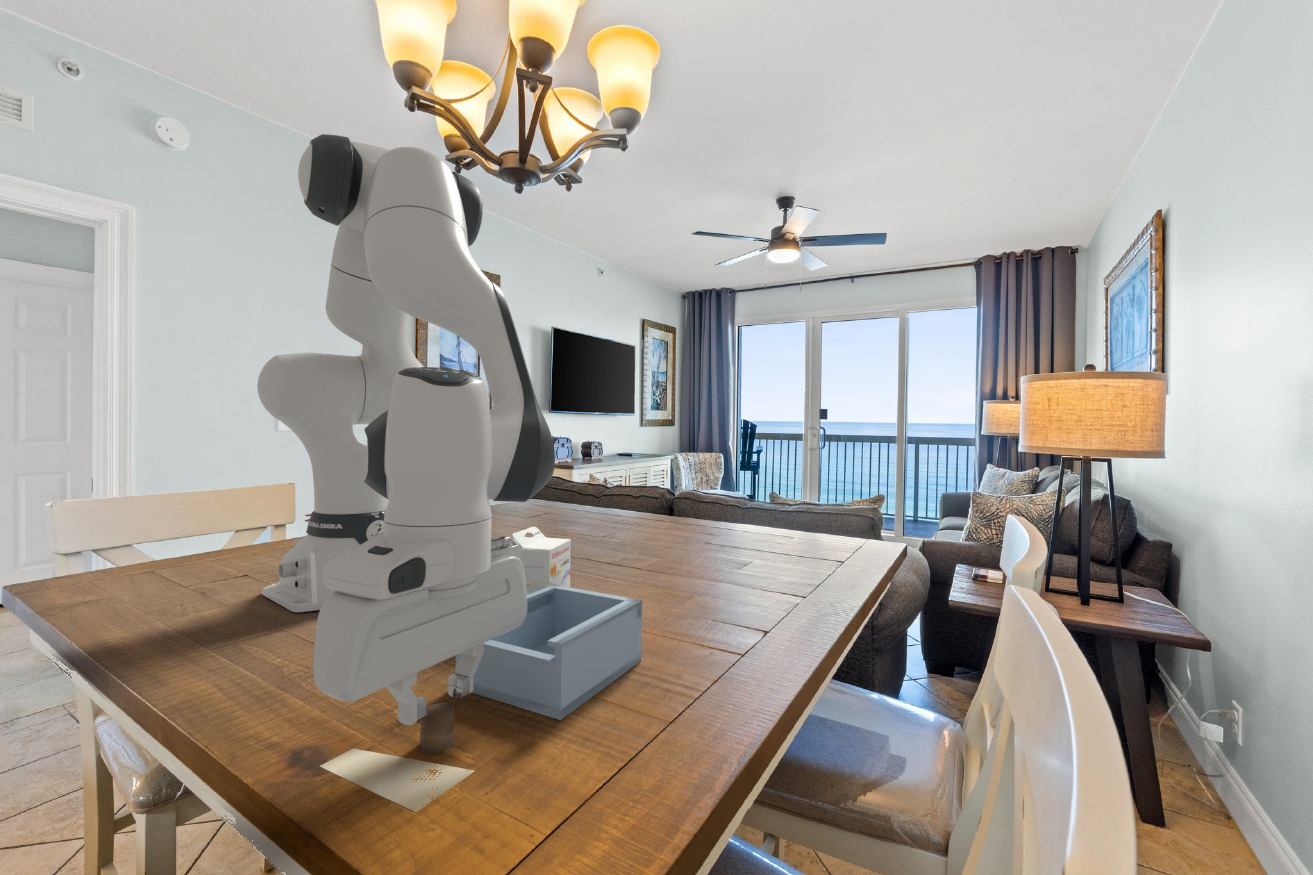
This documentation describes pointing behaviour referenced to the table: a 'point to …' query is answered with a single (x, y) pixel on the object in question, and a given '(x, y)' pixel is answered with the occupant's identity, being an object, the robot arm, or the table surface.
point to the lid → (406, 765)
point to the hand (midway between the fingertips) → (437, 707)
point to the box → (561, 650)
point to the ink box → (544, 559)
